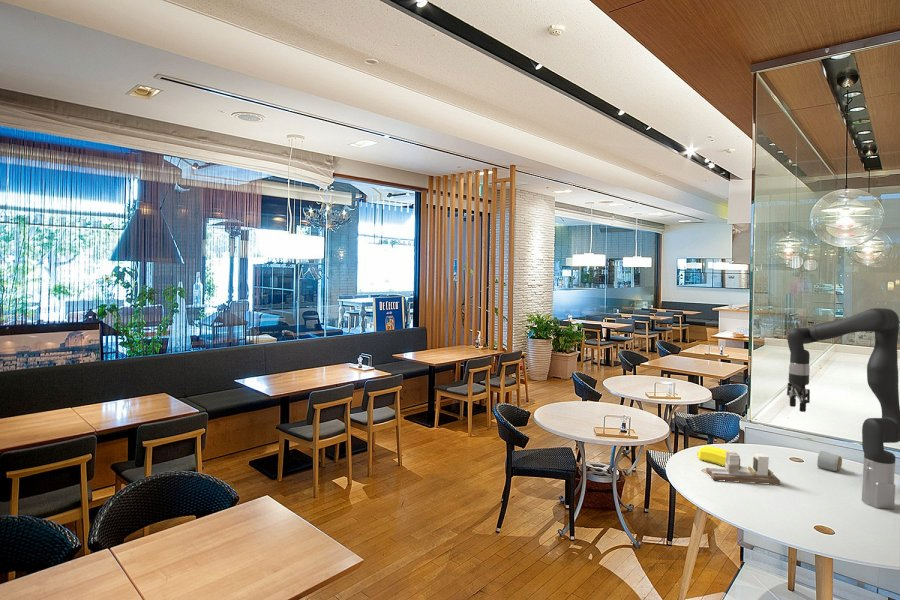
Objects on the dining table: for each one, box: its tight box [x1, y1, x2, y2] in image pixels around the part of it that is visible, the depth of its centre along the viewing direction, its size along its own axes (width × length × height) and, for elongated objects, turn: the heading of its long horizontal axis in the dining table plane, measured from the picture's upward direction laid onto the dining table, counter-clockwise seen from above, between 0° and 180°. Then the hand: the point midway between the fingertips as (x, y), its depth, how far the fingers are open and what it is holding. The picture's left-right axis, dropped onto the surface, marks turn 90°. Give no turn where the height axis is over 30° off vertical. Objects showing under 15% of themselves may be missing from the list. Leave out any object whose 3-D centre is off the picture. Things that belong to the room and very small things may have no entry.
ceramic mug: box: [816, 450, 843, 472], centre depth 232 cm, size 11×8×8 cm
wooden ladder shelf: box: [705, 451, 781, 485], centre depth 220 cm, size 9×26×11 cm, turn 81°
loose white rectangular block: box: [752, 452, 769, 476], centre depth 219 cm, size 4×4×8 cm
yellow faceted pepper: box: [697, 445, 730, 467], centre depth 238 cm, size 18×7×8 cm
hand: (797, 408), depth 227 cm, fingers open, 8 cm apart
